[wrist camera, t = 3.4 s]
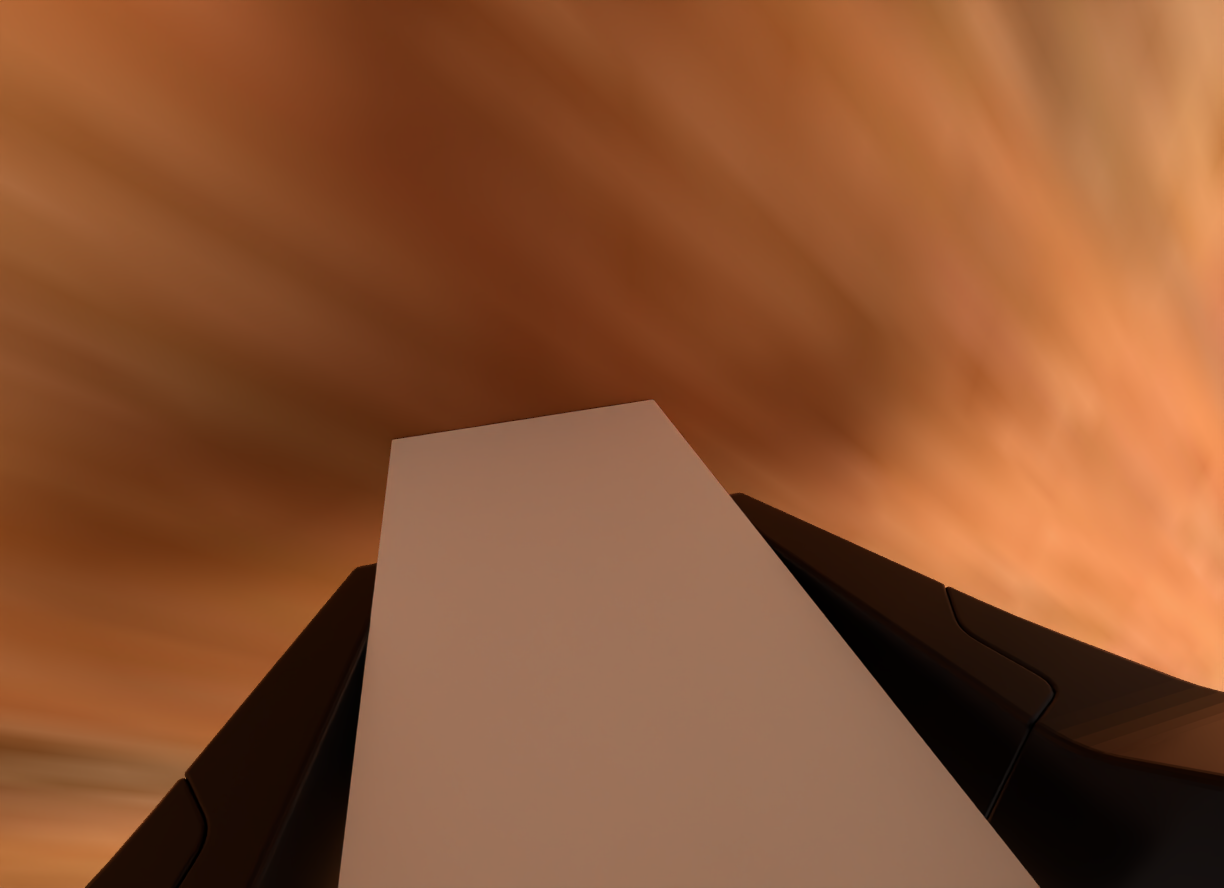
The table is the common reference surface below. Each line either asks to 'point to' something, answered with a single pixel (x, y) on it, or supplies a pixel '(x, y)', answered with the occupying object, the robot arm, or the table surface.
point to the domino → (623, 687)
